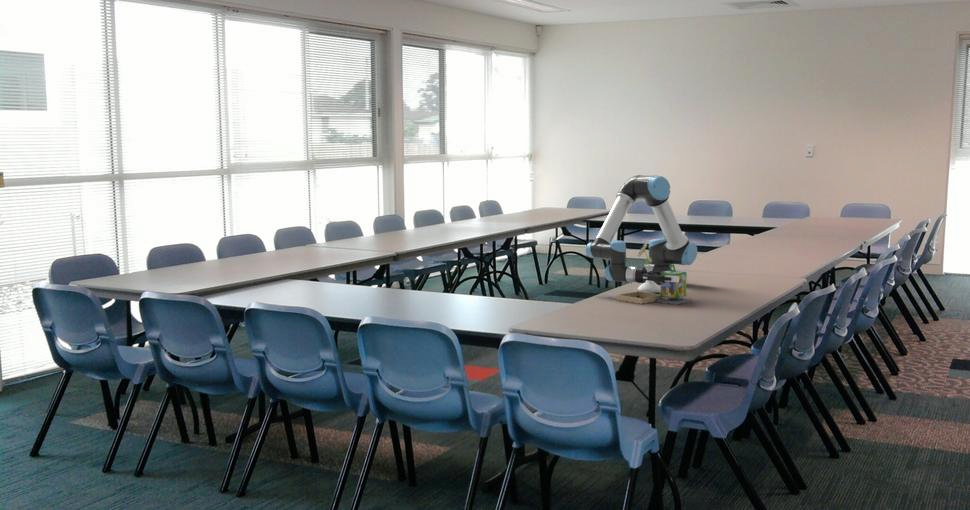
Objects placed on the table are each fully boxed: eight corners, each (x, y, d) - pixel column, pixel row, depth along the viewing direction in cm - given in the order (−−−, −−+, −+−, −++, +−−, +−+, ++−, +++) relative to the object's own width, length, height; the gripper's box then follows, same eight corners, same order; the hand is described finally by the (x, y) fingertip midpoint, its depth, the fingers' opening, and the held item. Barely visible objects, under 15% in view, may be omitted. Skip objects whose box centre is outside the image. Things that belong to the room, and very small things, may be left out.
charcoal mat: (655, 301, 428) (655, 299, 428) (671, 298, 435) (671, 296, 435) (675, 304, 419) (675, 302, 419) (691, 301, 426) (691, 299, 426)
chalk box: (677, 298, 420) (678, 266, 419) (659, 297, 426) (660, 265, 424) (687, 295, 428) (687, 264, 426) (669, 294, 433) (669, 263, 431)
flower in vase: (646, 290, 460) (646, 240, 457) (665, 292, 452) (665, 242, 449) (630, 293, 451) (630, 243, 448) (650, 296, 443) (650, 244, 440)
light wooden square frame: (617, 300, 434) (617, 294, 433) (638, 296, 443) (638, 291, 443) (641, 304, 422) (641, 298, 422) (662, 300, 432) (662, 294, 431)
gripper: (645, 279, 445) (690, 282, 434) (628, 286, 426) (674, 289, 414) (645, 263, 444) (690, 266, 433) (628, 270, 425) (674, 272, 414)
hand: (682, 277), depth 424 cm, fingers closed on chalk box, 10 cm apart
